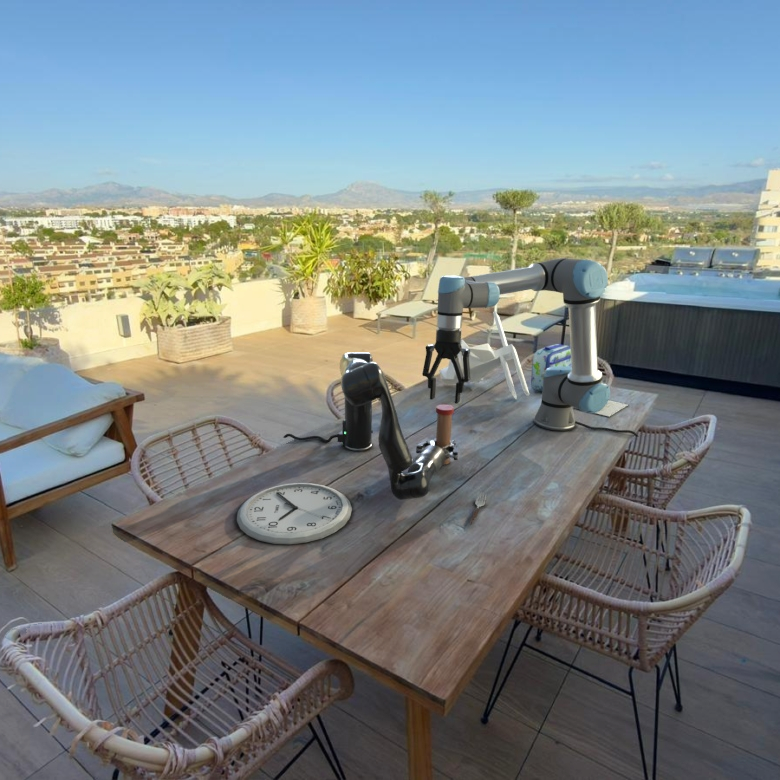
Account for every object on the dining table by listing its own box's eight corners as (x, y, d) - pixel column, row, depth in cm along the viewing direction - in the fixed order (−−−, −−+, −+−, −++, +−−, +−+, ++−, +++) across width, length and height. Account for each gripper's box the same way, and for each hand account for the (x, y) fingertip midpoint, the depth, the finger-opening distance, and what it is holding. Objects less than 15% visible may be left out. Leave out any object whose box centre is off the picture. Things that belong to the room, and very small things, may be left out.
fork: (465, 526, 134) (465, 519, 133) (477, 497, 148) (477, 491, 147) (475, 528, 133) (476, 521, 132) (486, 499, 147) (487, 492, 147)
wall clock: (352, 536, 126) (224, 540, 123) (352, 542, 126) (225, 546, 123) (351, 478, 154) (247, 481, 151) (351, 483, 155) (247, 486, 152)
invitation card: (608, 416, 214) (573, 407, 224) (608, 416, 214) (573, 408, 224) (628, 404, 229) (594, 396, 238) (628, 405, 229) (594, 397, 238)
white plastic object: (461, 429, 252) (437, 405, 227) (444, 352, 274) (420, 323, 250) (535, 404, 240) (518, 377, 215) (510, 326, 262) (492, 293, 237)
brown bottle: (445, 465, 168) (448, 412, 162) (432, 462, 170) (435, 409, 164) (451, 460, 172) (454, 407, 166) (438, 457, 174) (441, 405, 168)
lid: (449, 416, 162) (449, 411, 161) (432, 413, 165) (433, 408, 164) (456, 411, 167) (456, 406, 166) (440, 408, 169) (440, 403, 169)
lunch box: (547, 396, 238) (552, 351, 232) (526, 391, 246) (531, 347, 239) (574, 385, 256) (579, 343, 250) (554, 380, 263) (559, 340, 257)
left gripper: (453, 454, 153) (467, 434, 168) (407, 446, 158) (425, 427, 173) (451, 477, 155) (466, 455, 170) (406, 468, 160) (424, 448, 175)
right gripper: (485, 329, 157) (479, 401, 164) (421, 323, 165) (418, 392, 171) (478, 333, 150) (473, 408, 157) (412, 327, 158) (410, 398, 165)
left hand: (445, 441), depth 171 cm, fingers closed on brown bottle, 4 cm apart
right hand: (444, 400), depth 164 cm, fingers open, 7 cm apart
